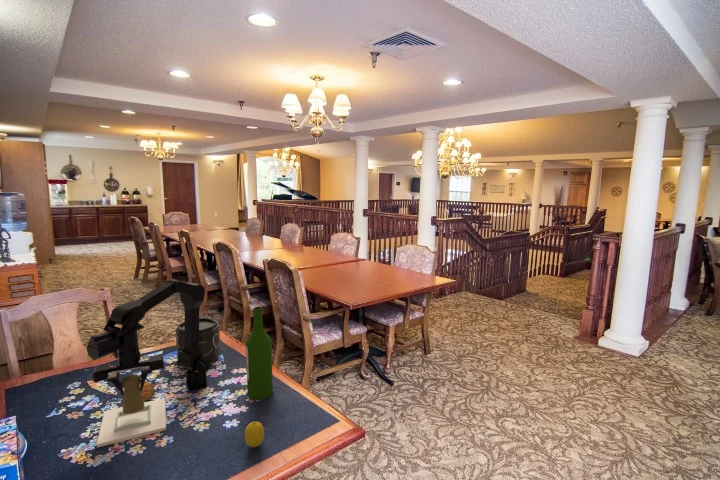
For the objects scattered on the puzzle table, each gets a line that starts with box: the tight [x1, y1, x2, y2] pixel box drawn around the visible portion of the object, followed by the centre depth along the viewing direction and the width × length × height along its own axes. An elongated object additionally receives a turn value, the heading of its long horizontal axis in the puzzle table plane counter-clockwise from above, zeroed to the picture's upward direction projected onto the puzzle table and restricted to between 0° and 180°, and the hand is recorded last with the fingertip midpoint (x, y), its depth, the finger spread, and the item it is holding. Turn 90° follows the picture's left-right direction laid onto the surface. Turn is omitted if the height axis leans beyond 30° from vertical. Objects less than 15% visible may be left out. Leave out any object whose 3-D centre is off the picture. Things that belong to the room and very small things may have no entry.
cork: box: [121, 373, 145, 414], centre depth 122 cm, size 6×6×11 cm
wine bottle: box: [245, 306, 274, 401], centre depth 138 cm, size 9×9×32 cm
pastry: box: [139, 380, 155, 402], centre depth 138 cm, size 9×7×4 cm
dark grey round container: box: [174, 317, 222, 364], centre depth 167 cm, size 18×18×16 cm
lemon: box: [244, 421, 265, 448], centre depth 112 cm, size 6×6×8 cm
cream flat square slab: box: [96, 397, 167, 448], centre depth 123 cm, size 18×18×2 cm
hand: (132, 392), depth 122 cm, fingers closed on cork, 5 cm apart
